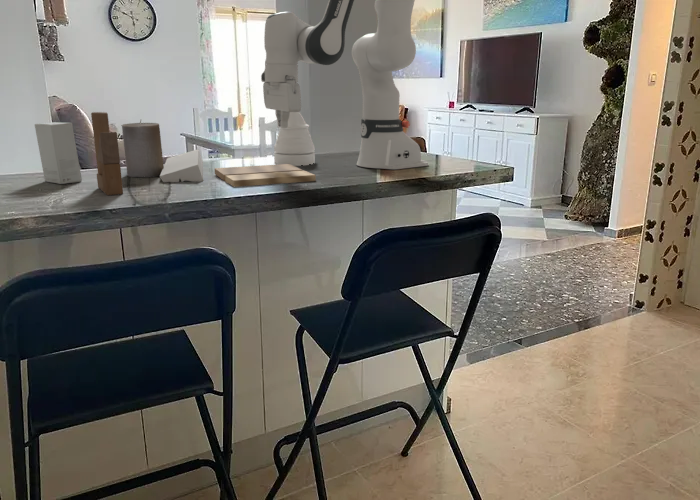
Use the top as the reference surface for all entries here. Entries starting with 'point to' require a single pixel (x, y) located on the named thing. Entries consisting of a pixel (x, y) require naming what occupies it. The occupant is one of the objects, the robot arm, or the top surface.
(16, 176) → the top surface
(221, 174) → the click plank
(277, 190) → the top surface
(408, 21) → the robot arm
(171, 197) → the top surface
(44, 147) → the skincare box
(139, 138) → the pillar candle
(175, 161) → the decorative molding
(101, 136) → the wooden block
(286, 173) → the laid oak board
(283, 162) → the honey pot
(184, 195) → the top surface
